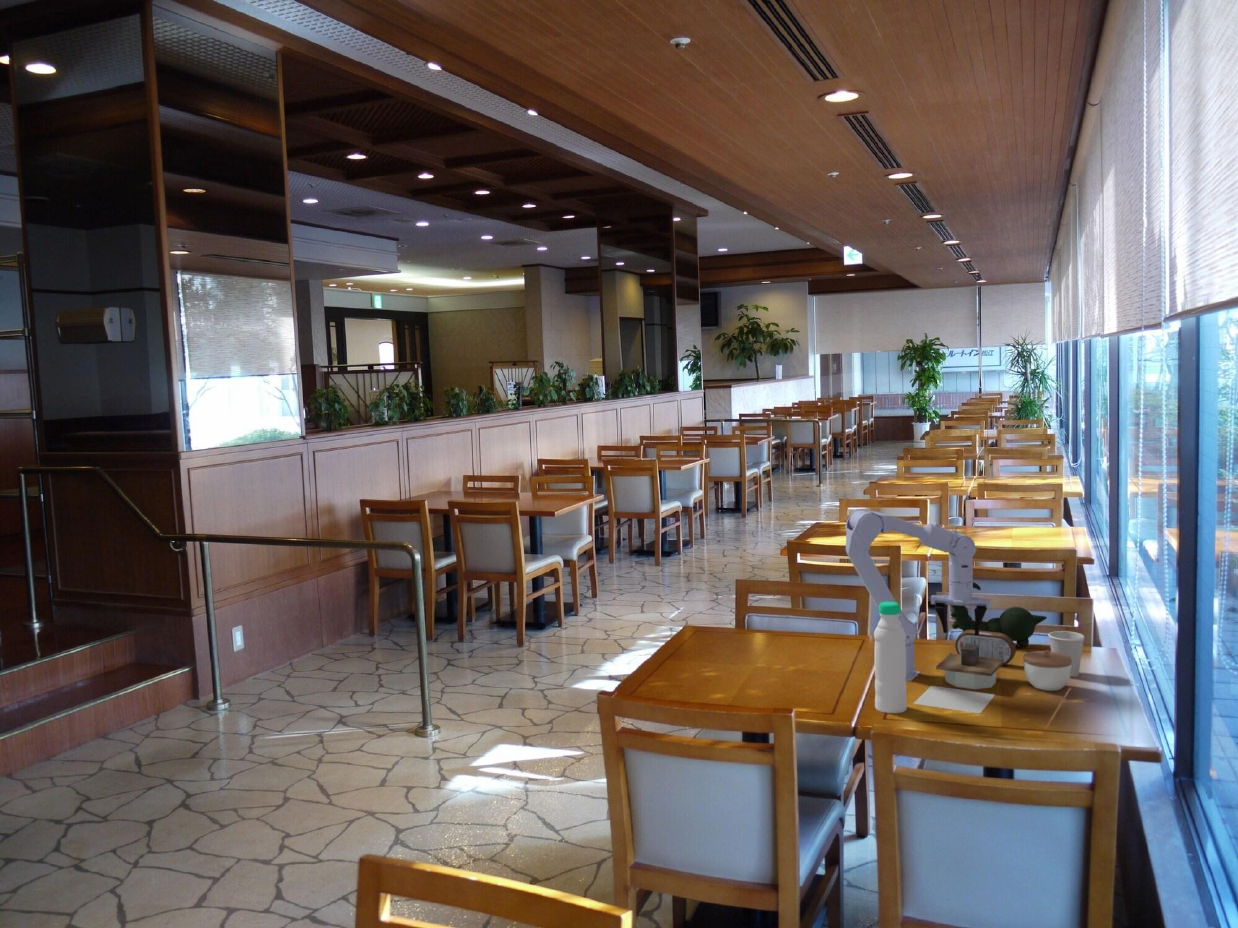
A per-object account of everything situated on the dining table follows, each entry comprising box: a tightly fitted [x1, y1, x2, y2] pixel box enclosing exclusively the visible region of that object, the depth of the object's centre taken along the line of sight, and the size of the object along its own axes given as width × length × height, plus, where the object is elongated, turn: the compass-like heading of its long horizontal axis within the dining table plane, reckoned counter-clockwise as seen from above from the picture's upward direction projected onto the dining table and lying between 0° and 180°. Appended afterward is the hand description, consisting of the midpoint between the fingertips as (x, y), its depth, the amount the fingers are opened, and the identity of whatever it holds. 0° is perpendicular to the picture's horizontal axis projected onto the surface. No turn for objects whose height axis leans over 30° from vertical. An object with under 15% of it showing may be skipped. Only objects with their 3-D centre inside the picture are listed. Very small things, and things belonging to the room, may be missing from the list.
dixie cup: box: [1047, 630, 1085, 678], centre depth 249 cm, size 8×8×10 cm
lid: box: [935, 644, 1004, 676], centre depth 244 cm, size 13×13×5 cm
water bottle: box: [873, 601, 908, 714], centre depth 226 cm, size 7×7×25 cm
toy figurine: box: [949, 581, 1048, 648], centre depth 276 cm, size 9×19×25 cm
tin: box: [954, 630, 1017, 666], centre depth 260 cm, size 15×3×8 cm, turn 58°
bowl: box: [944, 670, 997, 690], centre depth 244 cm, size 11×11×4 cm
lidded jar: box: [1022, 649, 1072, 692], centre depth 238 cm, size 11×11×9 cm
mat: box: [912, 685, 996, 715], centre depth 232 cm, size 15×15×1 cm
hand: (961, 633), depth 252 cm, fingers open, 7 cm apart
